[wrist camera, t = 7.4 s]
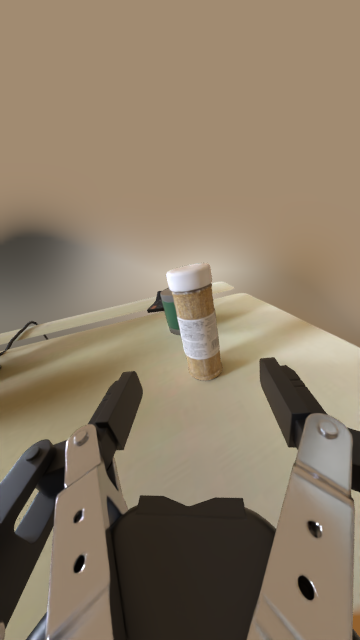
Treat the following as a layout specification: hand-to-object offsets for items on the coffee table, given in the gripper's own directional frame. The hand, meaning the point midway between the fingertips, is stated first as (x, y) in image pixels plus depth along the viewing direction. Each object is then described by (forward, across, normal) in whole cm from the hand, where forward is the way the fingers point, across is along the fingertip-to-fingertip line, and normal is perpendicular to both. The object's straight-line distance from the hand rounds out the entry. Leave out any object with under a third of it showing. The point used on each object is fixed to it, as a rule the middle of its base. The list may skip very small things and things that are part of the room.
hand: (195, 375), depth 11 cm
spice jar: (+9, 0, +8) cm, 12 cm away
